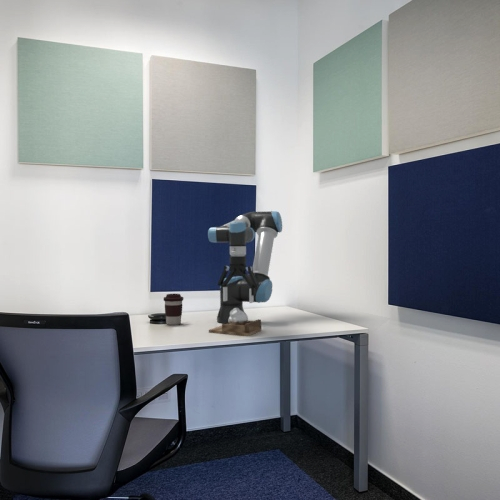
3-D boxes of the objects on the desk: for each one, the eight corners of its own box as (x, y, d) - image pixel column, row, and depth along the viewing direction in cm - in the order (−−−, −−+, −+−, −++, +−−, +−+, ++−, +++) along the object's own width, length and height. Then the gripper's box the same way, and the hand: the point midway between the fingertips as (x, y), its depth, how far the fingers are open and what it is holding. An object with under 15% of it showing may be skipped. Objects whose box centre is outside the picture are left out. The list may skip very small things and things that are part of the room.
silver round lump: (225, 327, 220) (225, 306, 220) (245, 326, 223) (245, 305, 222) (230, 331, 211) (229, 309, 211) (250, 330, 214) (250, 308, 214)
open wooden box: (208, 332, 216) (208, 321, 216) (223, 327, 228) (223, 316, 228) (247, 336, 207) (247, 324, 207) (261, 330, 219) (261, 319, 219)
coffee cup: (172, 321, 246) (172, 292, 245) (187, 323, 241) (187, 293, 240) (159, 324, 237) (159, 294, 237) (174, 326, 232) (174, 295, 232)
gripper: (210, 255, 218) (210, 301, 219) (259, 256, 207) (259, 304, 208) (218, 255, 225) (218, 299, 226) (266, 255, 214) (266, 302, 215)
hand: (238, 301), depth 217 cm, fingers open, 13 cm apart
